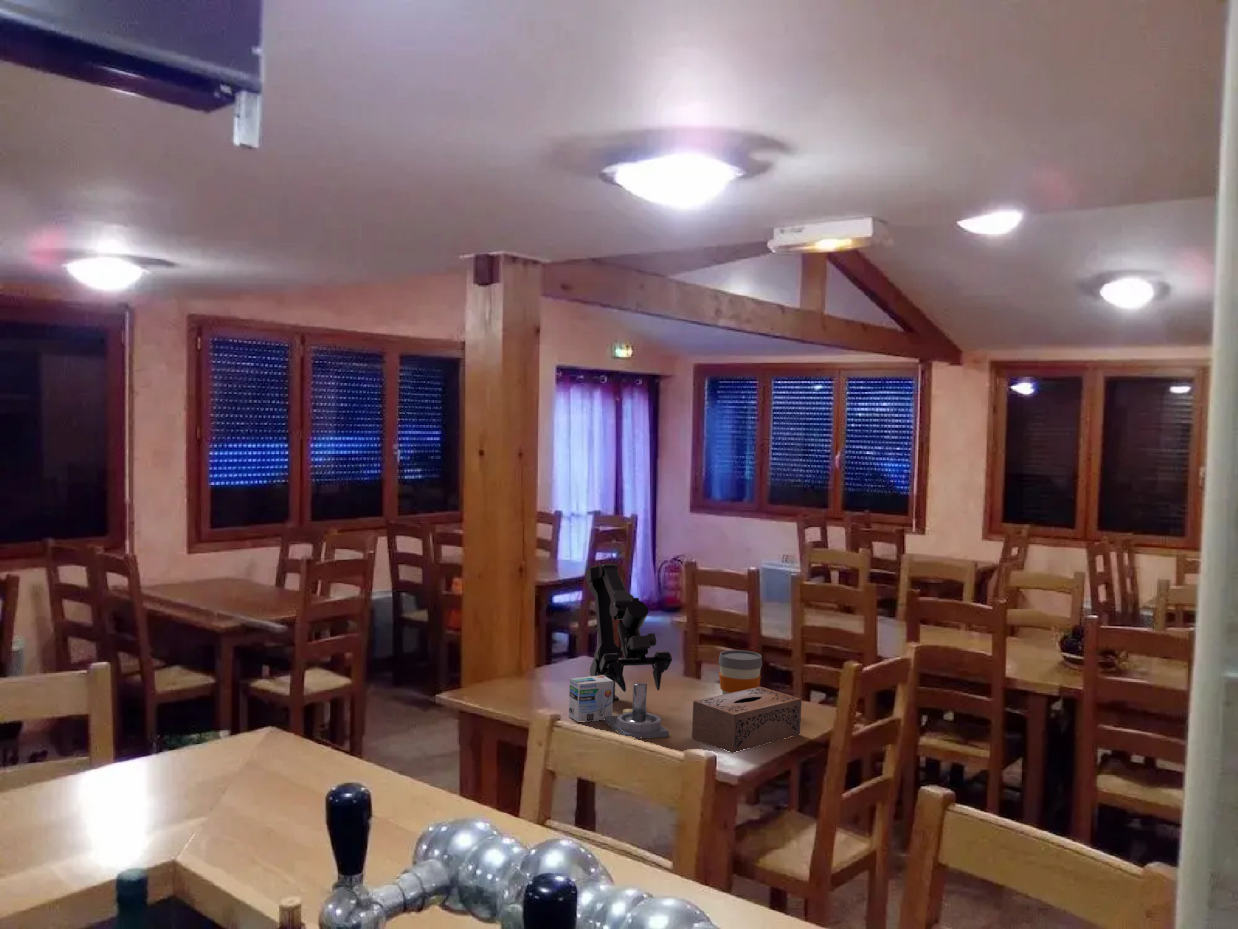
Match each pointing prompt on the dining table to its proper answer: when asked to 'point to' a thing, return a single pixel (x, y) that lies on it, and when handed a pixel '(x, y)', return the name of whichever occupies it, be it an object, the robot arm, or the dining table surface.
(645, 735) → the carrier plate
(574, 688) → the light bulb box
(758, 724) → the tissue box cover
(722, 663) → the reusable coffee cup
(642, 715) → the metal flanged shaft
